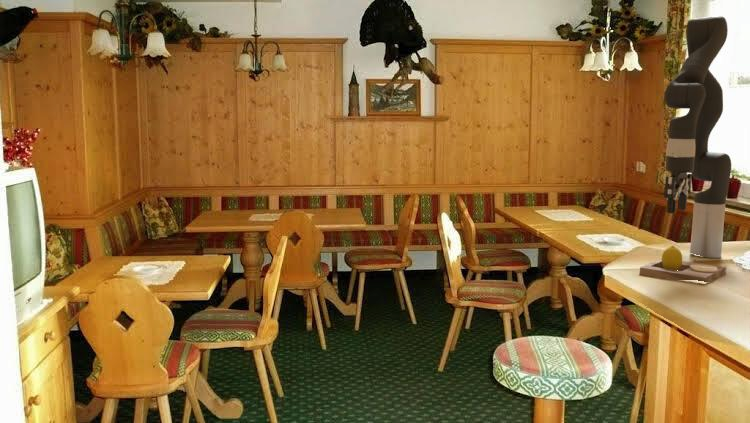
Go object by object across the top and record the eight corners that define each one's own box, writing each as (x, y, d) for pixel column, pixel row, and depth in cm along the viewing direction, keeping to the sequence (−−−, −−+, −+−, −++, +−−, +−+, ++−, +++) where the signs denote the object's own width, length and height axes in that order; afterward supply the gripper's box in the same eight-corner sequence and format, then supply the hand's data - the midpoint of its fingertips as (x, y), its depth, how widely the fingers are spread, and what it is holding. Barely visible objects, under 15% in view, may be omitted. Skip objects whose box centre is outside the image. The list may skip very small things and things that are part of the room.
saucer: (694, 265, 216) (695, 262, 216) (720, 269, 212) (720, 266, 212) (686, 269, 211) (686, 266, 211) (712, 273, 206) (712, 270, 206)
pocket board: (663, 264, 227) (663, 257, 227) (725, 273, 215) (726, 267, 215) (639, 274, 214) (640, 267, 213) (704, 285, 202) (705, 277, 202)
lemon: (683, 275, 212) (685, 248, 211) (662, 274, 213) (664, 247, 212) (679, 271, 218) (681, 244, 217) (659, 270, 219) (661, 243, 218)
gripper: (676, 152, 218) (672, 207, 221) (657, 155, 207) (653, 212, 210) (702, 154, 213) (698, 210, 216) (685, 156, 203) (680, 215, 205)
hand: (676, 211), depth 213 cm, fingers open, 8 cm apart
